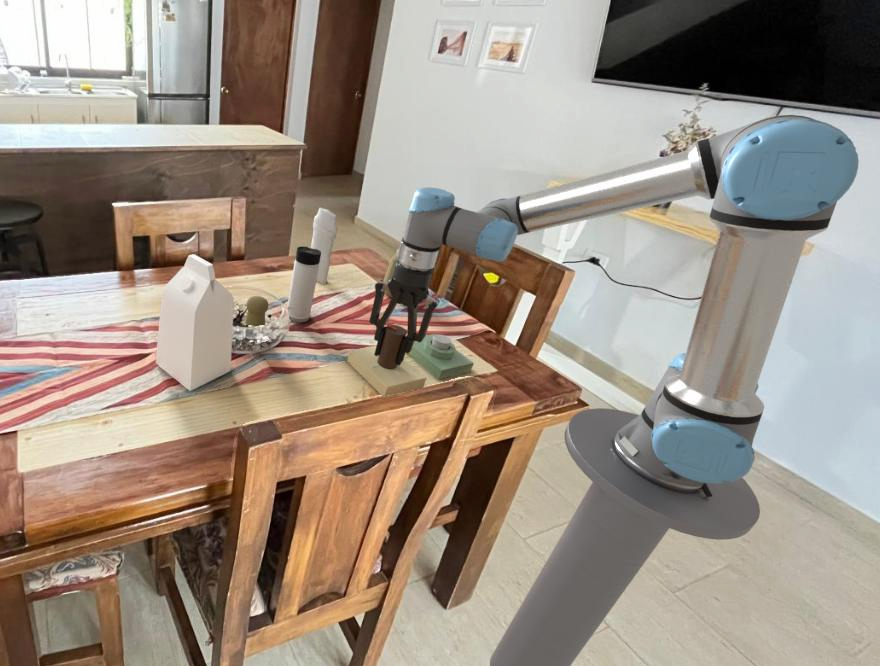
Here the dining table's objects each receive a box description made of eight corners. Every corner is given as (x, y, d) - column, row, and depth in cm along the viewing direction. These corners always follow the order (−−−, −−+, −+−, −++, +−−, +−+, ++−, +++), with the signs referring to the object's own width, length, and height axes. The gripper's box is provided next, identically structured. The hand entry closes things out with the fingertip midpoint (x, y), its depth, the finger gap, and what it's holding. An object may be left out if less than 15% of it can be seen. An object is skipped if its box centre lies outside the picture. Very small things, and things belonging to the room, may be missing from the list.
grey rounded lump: (452, 349, 123) (454, 342, 122) (439, 351, 121) (442, 344, 120) (440, 340, 126) (442, 333, 125) (427, 342, 124) (430, 335, 123)
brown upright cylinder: (399, 363, 117) (409, 328, 113) (393, 371, 114) (403, 336, 110) (381, 355, 119) (390, 321, 115) (374, 363, 116) (383, 328, 112)
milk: (230, 370, 113) (242, 264, 101) (190, 391, 106) (197, 278, 94) (195, 345, 121) (202, 243, 109) (155, 363, 113) (158, 255, 101)
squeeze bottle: (398, 287, 160) (412, 233, 151) (413, 300, 153) (429, 244, 145) (375, 289, 157) (389, 234, 149) (390, 302, 150) (405, 245, 142)
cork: (254, 347, 122) (259, 307, 117) (235, 336, 126) (240, 297, 121) (270, 338, 126) (276, 299, 121) (251, 328, 130) (256, 290, 125)
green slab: (470, 372, 122) (476, 356, 120) (438, 379, 118) (444, 363, 116) (432, 342, 132) (437, 327, 130) (401, 348, 128) (406, 333, 126)
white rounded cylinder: (300, 270, 163) (311, 204, 153) (311, 269, 165) (322, 203, 155) (320, 285, 155) (333, 216, 145) (331, 283, 157) (345, 215, 147)
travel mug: (282, 319, 135) (293, 249, 126) (289, 308, 141) (300, 241, 132) (305, 325, 134) (318, 255, 124) (311, 314, 139) (324, 246, 130)
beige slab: (423, 388, 115) (427, 377, 113) (384, 398, 110) (387, 386, 109) (384, 353, 126) (386, 342, 124) (346, 360, 121) (349, 349, 120)
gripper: (367, 256, 106) (346, 349, 117) (453, 284, 98) (421, 381, 109) (380, 246, 112) (359, 336, 123) (463, 272, 104) (432, 366, 115)
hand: (388, 357), depth 116 cm, fingers closed on brown upright cylinder, 4 cm apart
